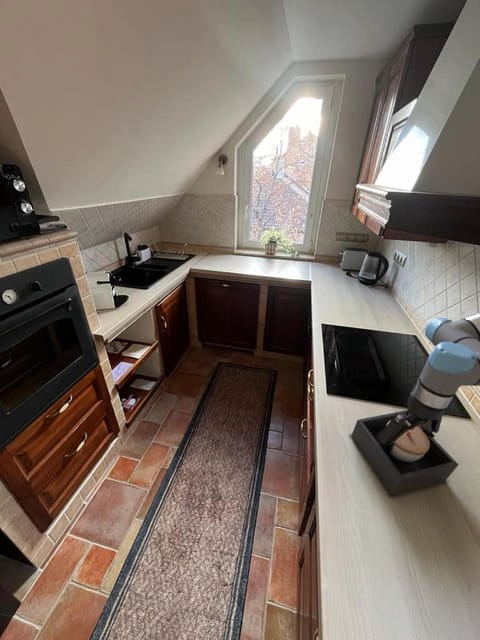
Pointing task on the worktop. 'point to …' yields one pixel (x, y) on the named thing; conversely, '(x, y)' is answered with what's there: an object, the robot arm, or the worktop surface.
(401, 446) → the trinket box
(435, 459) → the tray
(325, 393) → the worktop surface
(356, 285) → the worktop surface
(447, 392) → the robot arm
